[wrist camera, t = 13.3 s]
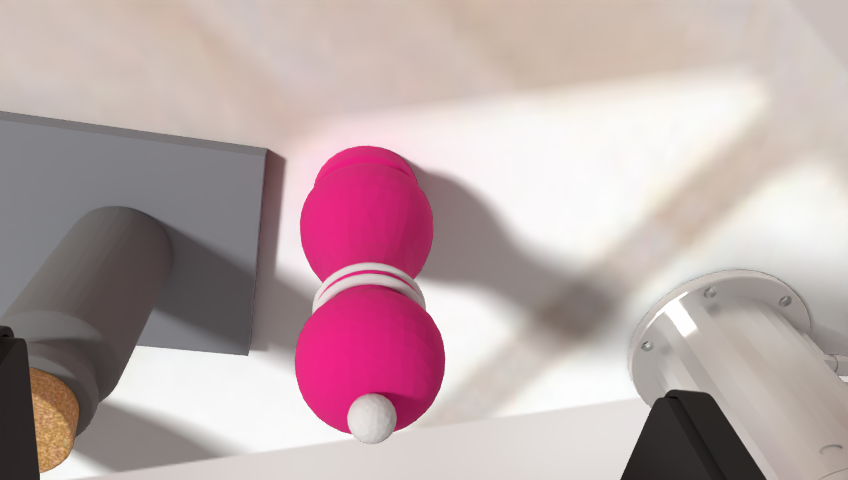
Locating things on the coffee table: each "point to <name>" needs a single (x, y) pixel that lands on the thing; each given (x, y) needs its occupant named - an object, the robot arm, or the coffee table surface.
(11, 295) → the mat
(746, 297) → the robot arm
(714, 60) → the coffee table surface
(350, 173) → the pepper mill
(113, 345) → the bottle
